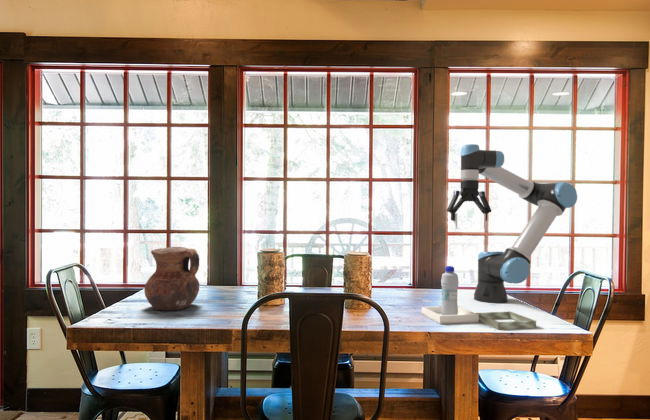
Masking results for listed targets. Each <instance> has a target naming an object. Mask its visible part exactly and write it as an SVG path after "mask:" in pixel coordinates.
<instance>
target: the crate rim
mask: <svg viewBox="0 0 650 420" xmlns="http://www.w3.org/2000/svg"><path fill="white" fill-rule="evenodd" d="M475 313H476V314H479V323H483V324H484V325H487V326H489V327H491V328H493V329H494V330H495V329H496V330H500V331H501V330H515V329H516V330H517V329H518V330H519V329H535V328H537V320H535V319H531V318H529V317H528V316H527V317H526V316H524V315H521V314H518V313H516V312H513V311H509V310H508V311H490V312H489V311H488V312H486V311H485V312H475ZM501 319H510V320H511V321H497V320H501Z"/></svg>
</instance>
